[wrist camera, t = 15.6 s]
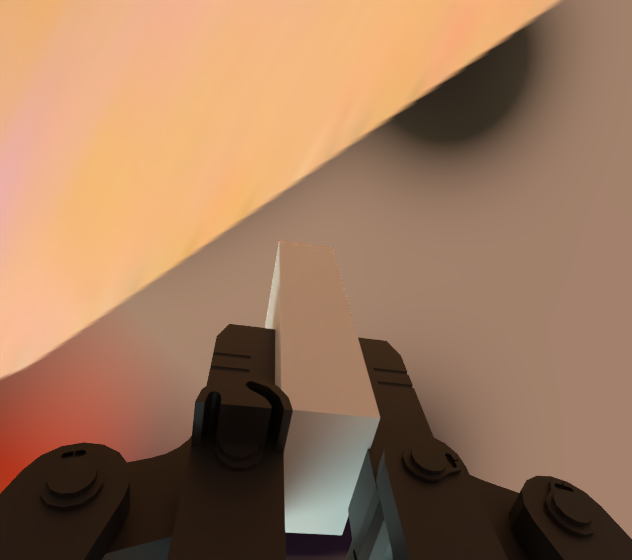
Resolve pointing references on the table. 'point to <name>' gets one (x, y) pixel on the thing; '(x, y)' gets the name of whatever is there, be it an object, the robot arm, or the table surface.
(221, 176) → the table surface
